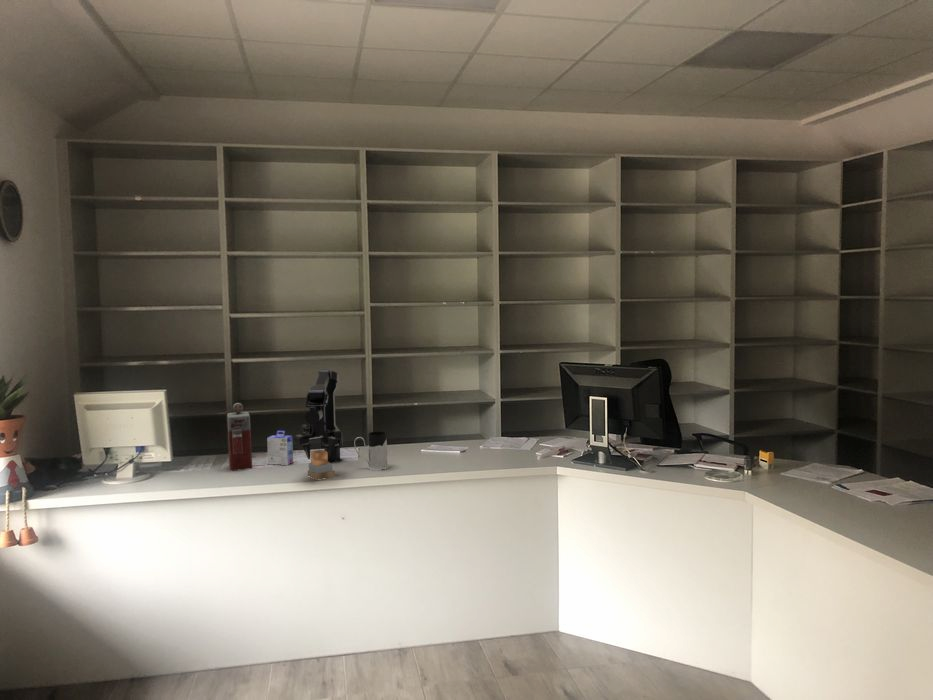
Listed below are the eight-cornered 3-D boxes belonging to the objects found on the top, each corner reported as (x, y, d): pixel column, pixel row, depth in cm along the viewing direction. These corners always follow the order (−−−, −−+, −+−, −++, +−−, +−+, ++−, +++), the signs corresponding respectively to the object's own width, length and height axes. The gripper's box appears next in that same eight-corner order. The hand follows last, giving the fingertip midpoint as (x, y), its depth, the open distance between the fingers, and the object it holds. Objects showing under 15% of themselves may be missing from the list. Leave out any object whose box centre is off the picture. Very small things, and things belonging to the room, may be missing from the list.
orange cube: (322, 461, 277) (321, 449, 277) (327, 463, 274) (327, 451, 273) (311, 463, 274) (310, 451, 274) (316, 465, 270) (316, 453, 270)
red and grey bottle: (230, 471, 284) (227, 406, 281) (229, 465, 294) (226, 402, 291) (252, 469, 287) (249, 404, 284) (250, 463, 297) (247, 400, 295)
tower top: (324, 467, 279) (324, 460, 279) (332, 470, 274) (332, 463, 274) (308, 470, 275) (308, 463, 275) (316, 473, 270) (316, 466, 269)
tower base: (325, 474, 280) (325, 467, 280) (334, 478, 274) (334, 471, 274) (307, 477, 275) (307, 470, 275) (316, 481, 269) (316, 474, 269)
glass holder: (389, 469, 284) (388, 435, 282) (354, 471, 281) (353, 436, 280) (387, 464, 292) (387, 430, 291) (354, 466, 290) (353, 432, 288)
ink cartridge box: (294, 462, 298) (292, 430, 297) (288, 465, 293) (287, 433, 291) (273, 461, 300) (272, 429, 299) (267, 464, 295) (266, 432, 293)
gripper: (330, 413, 284) (331, 450, 286) (288, 419, 273) (289, 457, 274) (342, 417, 275) (343, 455, 277) (299, 423, 264) (301, 462, 265)
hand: (319, 457), depth 273 cm, fingers open, 9 cm apart
